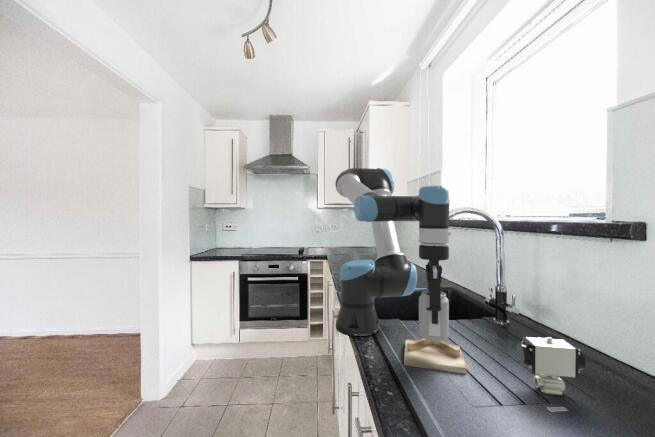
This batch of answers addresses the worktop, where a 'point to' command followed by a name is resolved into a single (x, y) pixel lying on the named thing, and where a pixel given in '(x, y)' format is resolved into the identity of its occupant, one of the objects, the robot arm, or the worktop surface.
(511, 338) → the worktop surface
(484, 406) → the worktop surface
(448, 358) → the v block
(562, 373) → the pneumatic valve
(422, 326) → the can
